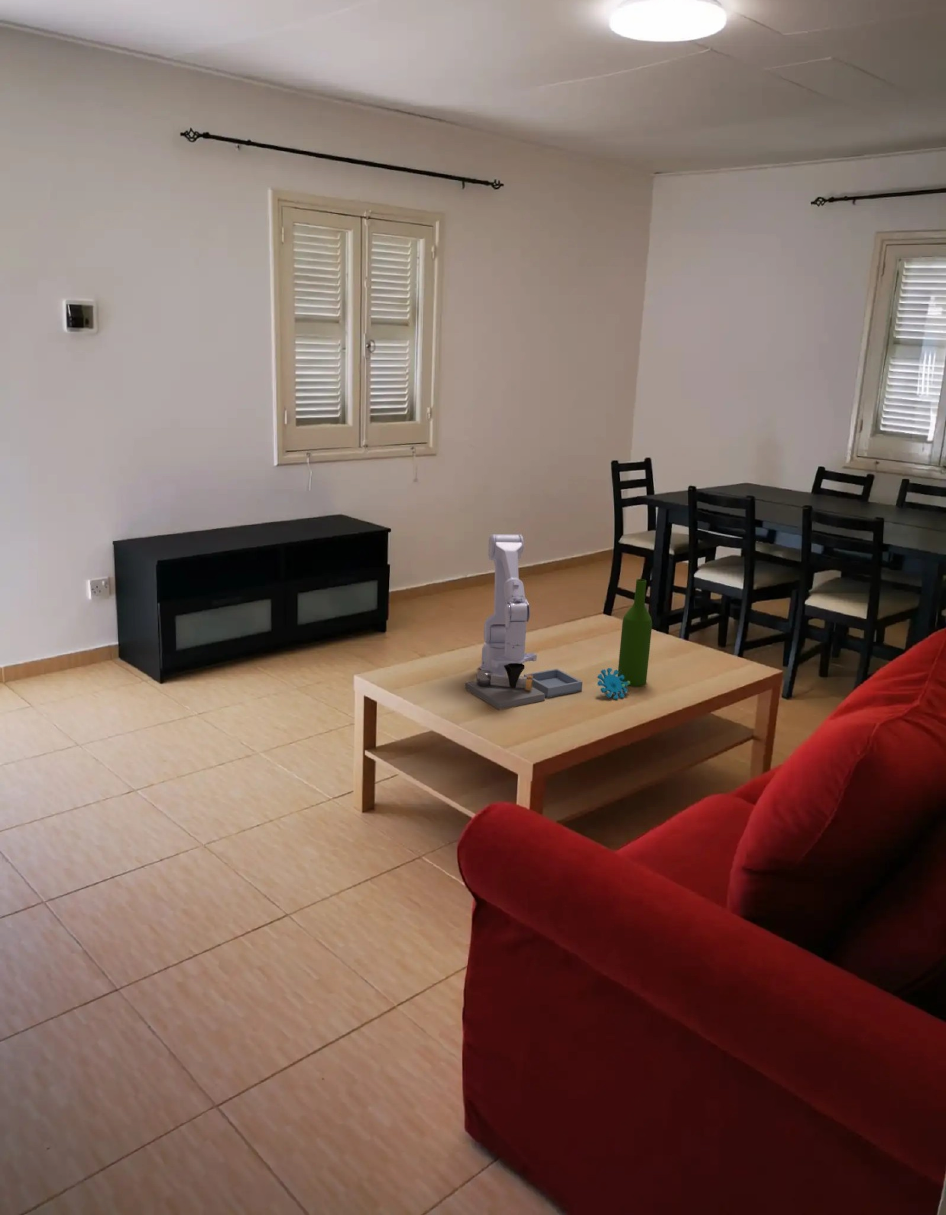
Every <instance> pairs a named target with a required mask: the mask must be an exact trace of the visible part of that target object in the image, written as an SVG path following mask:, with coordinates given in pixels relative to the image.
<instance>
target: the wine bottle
mask: <svg viewBox="0 0 946 1215" xmlns="http://www.w3.org/2000/svg"><path fill="white" fill-rule="evenodd" d="M646 587H647V580H646V579H643V578H638V579H636V582H635V589H634V590H635V592H634V600H633V603H632V606H631V607H629V609H628V610H627V611H626V613H625V614H624V616H623V618H622V621H621V622H622V623H621V624H622V625H621V634H620V644H619V645H620V646H619V654H618V656H619V657H618V666H617V671H618V672H619V673H618V674H617V675H616V676H617V677H619V676H621V675H623V676H624V679H623V680H621V679H620V680H621V681H622V682H627V681H630V684H629V685H628V686H627V687H634V688H635V687H638V688H639V687H643V686H645V685H646V683H647V680H648V678H647V677H648V668H649V661H650V660H649V657H650V648H651V638H652V629H653V621H652V616H651V615H650V613H649V611H648V609H647V607H646V605H645V603H646V602H645V601H646V600H645V599H646Z"/></svg>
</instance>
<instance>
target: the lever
mask: <svg viewBox="0 0 946 1215" xmlns="http://www.w3.org/2000/svg"><path fill="white" fill-rule="evenodd" d="M476 677H477V678H476V680H477V684H478V685H480V686H490V685H498V686H508V687H510V685H509V678H508V675H502V674H492V672H491V671H489V670H482V669H480V670H477V676H476ZM532 683H533V675H527V677H524V675H522V676H521V675H520V676H519V678H518V681H517V684H516V687H519V688H526V689H525V690H530V691H531V688H532Z"/></svg>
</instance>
